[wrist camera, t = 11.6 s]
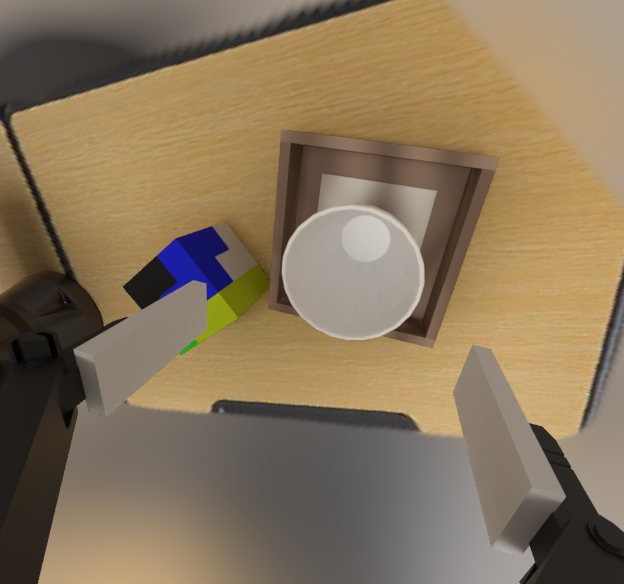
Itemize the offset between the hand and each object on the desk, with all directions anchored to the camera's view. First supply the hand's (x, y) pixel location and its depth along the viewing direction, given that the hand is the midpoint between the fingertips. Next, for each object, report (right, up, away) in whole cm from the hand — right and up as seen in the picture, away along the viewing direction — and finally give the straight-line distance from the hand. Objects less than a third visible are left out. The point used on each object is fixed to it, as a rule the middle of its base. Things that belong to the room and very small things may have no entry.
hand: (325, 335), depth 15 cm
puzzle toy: (-13, +5, +27) cm, 30 cm away
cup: (+5, +8, +20) cm, 22 cm away
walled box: (+6, +9, +20) cm, 23 cm away
